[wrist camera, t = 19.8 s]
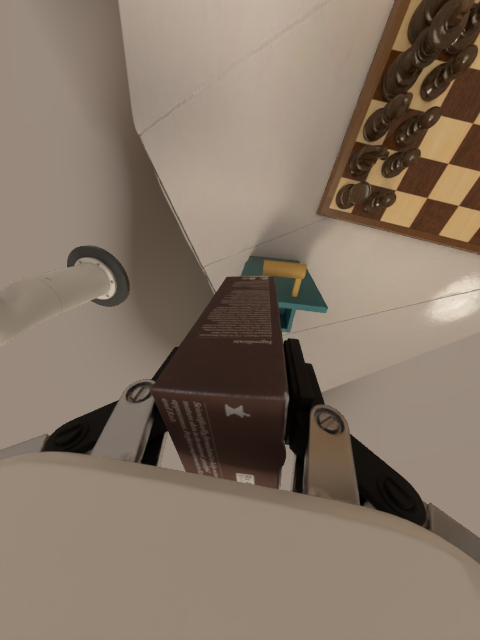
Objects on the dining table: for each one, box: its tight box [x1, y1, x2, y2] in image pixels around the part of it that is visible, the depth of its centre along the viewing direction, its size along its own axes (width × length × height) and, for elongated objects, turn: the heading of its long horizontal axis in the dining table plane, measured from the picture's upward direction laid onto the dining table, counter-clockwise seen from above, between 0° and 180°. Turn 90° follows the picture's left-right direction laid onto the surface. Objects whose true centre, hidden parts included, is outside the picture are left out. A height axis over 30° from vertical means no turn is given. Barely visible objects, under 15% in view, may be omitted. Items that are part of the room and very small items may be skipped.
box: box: [150, 275, 289, 489], centre depth 11 cm, size 6×4×12 cm
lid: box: [241, 260, 328, 313], centre depth 28 cm, size 15×12×5 cm
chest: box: [247, 256, 301, 332], centre depth 43 cm, size 15×12×9 cm
